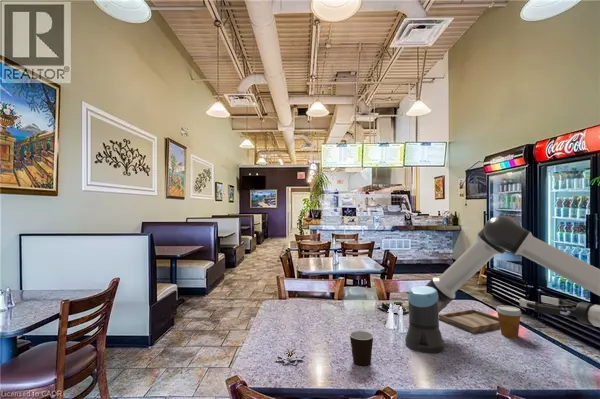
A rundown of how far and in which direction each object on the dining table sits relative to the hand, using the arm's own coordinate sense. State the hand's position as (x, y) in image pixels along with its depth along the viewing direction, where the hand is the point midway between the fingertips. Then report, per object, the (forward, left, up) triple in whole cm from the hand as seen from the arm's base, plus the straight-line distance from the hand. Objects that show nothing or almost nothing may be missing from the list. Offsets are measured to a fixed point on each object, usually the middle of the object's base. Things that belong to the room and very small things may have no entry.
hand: (531, 300), depth 130 cm
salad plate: (-23, +61, -18) cm, 68 cm away
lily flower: (-99, +26, -19) cm, 104 cm away
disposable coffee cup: (0, +10, -18) cm, 21 cm away
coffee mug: (-74, +14, -18) cm, 78 cm away
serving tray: (-1, +28, -18) cm, 33 cm away
